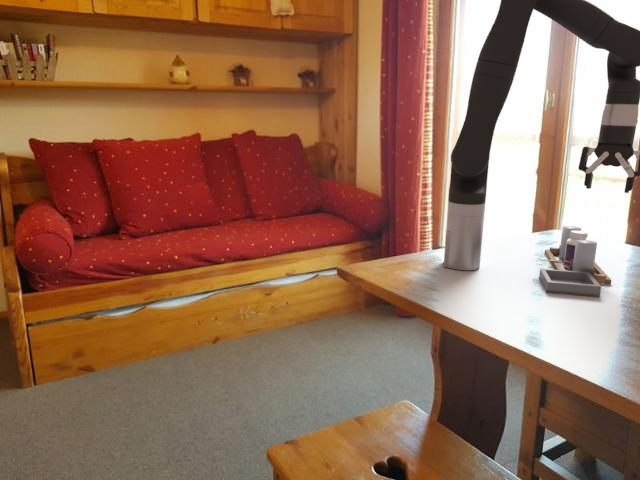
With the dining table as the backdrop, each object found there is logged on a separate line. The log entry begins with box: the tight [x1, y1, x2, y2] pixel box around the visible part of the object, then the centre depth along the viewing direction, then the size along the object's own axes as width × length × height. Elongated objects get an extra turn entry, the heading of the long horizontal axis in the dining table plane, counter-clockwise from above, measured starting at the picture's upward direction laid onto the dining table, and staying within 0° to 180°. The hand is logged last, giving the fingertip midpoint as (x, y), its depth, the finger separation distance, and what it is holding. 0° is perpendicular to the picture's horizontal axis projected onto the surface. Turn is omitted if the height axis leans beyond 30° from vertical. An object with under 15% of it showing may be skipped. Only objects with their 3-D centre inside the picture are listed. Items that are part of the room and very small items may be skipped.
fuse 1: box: [558, 225, 582, 261], centre depth 143 cm, size 5×5×9 cm
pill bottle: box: [563, 230, 588, 270], centre depth 135 cm, size 5×5×10 cm
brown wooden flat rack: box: [544, 245, 612, 286], centre depth 136 cm, size 12×26×3 cm, turn 166°
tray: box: [538, 268, 602, 298], centre depth 120 cm, size 11×11×2 cm
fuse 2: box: [572, 239, 598, 271], centre depth 127 cm, size 5×5×9 cm
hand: (607, 190), depth 128 cm, fingers open, 8 cm apart
